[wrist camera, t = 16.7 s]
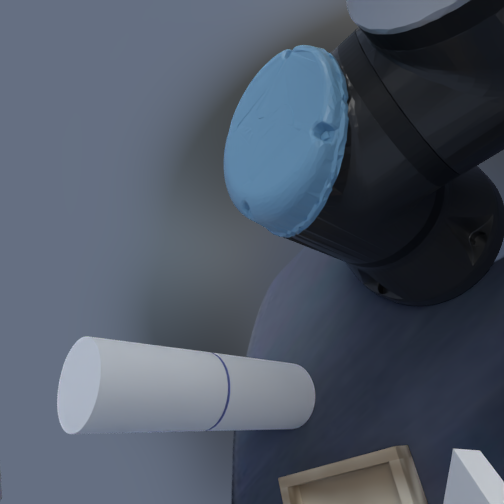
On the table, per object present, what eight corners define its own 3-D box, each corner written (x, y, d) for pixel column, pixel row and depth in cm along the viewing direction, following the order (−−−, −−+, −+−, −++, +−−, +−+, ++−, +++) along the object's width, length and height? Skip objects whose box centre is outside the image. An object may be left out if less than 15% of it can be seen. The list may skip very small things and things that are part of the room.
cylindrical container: (308, 438, 47) (84, 448, 30) (262, 418, 52) (49, 417, 35) (320, 370, 48) (109, 344, 31) (273, 357, 53) (72, 330, 36)
